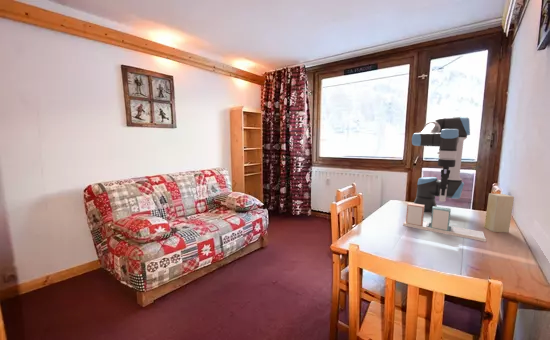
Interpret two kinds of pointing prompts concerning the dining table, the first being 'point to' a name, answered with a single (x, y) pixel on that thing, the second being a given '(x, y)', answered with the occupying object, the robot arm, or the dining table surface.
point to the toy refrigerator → (499, 212)
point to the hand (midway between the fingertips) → (442, 198)
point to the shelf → (452, 231)
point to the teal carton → (440, 218)
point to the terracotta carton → (415, 214)
